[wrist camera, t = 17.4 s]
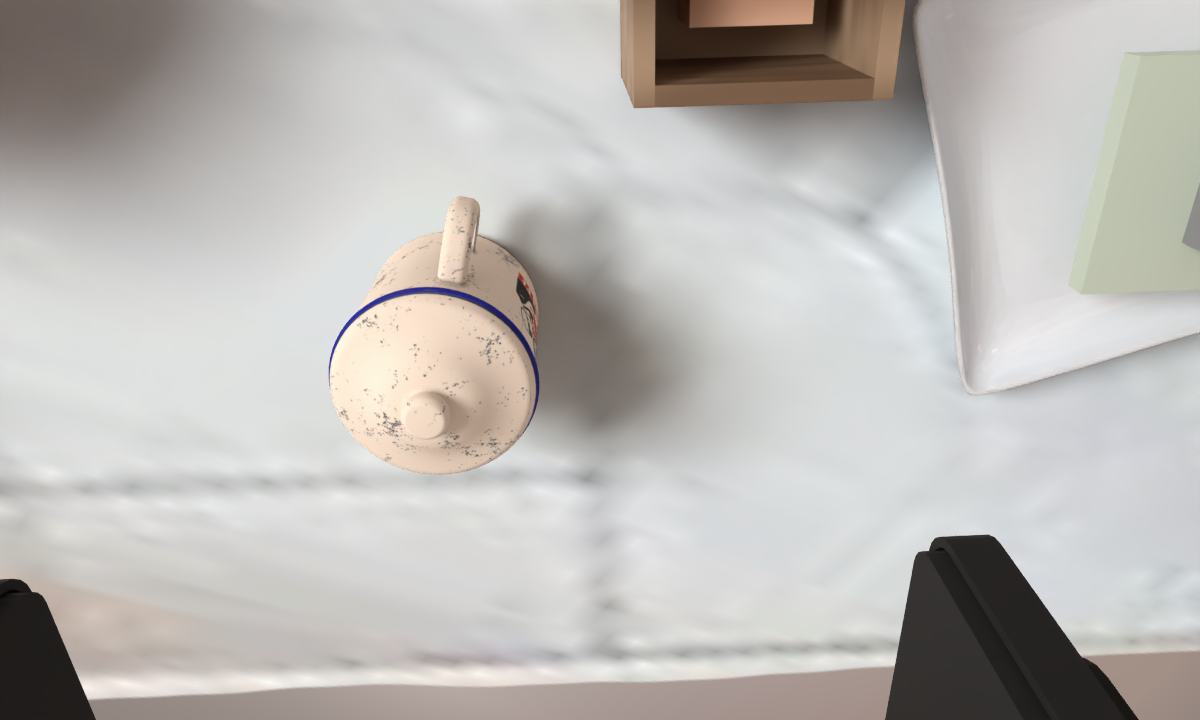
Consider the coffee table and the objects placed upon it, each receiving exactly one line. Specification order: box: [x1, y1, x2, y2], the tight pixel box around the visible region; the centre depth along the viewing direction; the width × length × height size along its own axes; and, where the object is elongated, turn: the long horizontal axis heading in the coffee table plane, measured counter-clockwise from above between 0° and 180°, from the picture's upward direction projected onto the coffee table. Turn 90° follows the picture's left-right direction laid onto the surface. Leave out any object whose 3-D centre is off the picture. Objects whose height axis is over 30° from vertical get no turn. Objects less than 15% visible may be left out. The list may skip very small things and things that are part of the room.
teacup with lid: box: [329, 197, 539, 474], centre depth 39 cm, size 12×9×12 cm
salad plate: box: [913, 0, 1200, 395], centre depth 41 cm, size 21×21×3 cm
